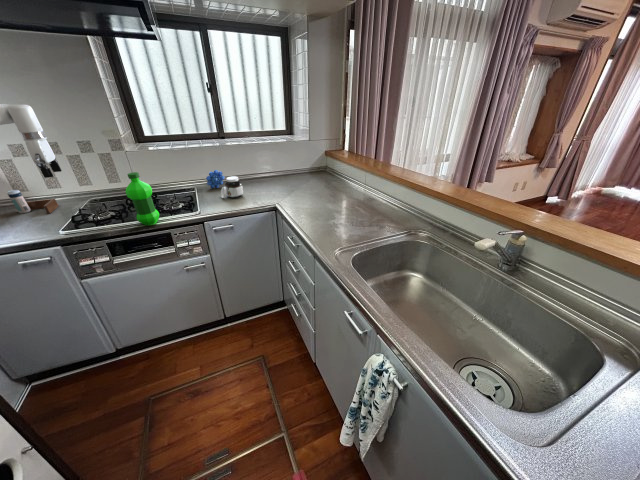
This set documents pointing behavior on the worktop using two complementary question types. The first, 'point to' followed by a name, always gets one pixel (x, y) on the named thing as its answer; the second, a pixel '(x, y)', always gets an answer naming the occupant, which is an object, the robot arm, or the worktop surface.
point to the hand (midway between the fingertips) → (53, 174)
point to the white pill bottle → (19, 201)
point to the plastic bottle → (142, 200)
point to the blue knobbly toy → (215, 179)
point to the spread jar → (232, 188)
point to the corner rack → (43, 205)
